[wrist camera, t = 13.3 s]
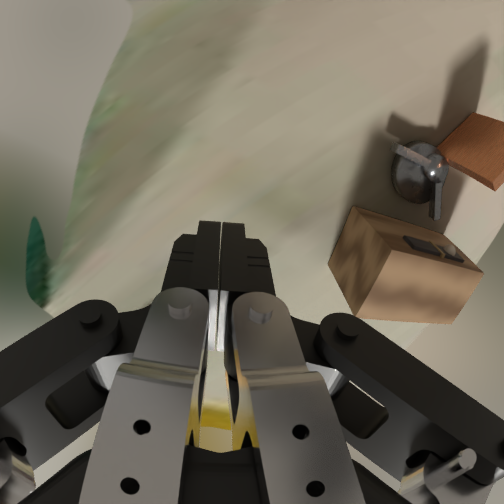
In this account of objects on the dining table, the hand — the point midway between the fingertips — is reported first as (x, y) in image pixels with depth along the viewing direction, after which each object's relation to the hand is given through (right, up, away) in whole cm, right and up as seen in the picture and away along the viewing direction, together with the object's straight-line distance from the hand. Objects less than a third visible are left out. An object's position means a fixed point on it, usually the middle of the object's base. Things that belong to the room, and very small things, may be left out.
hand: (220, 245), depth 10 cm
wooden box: (+24, 0, +35) cm, 42 cm away
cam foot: (+29, +15, +26) cm, 42 cm away
